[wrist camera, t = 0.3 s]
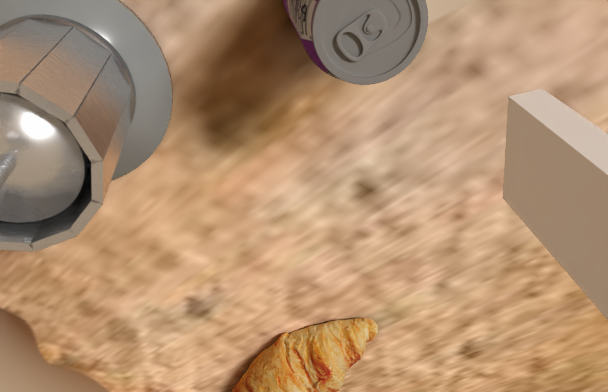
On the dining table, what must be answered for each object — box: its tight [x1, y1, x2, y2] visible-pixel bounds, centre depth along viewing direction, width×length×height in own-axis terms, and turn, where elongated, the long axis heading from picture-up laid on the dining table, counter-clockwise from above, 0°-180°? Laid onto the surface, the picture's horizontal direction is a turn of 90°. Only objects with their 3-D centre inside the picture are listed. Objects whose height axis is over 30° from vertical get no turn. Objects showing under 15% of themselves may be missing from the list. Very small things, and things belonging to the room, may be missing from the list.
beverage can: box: [282, 0, 428, 85], centre depth 31 cm, size 7×7×12 cm
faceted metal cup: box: [0, 14, 136, 252], centre depth 32 cm, size 11×13×12 cm
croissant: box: [231, 318, 378, 392], centre depth 55 cm, size 21×10×8 cm, turn 128°
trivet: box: [0, 0, 173, 180], centre depth 37 cm, size 16×16×1 cm
